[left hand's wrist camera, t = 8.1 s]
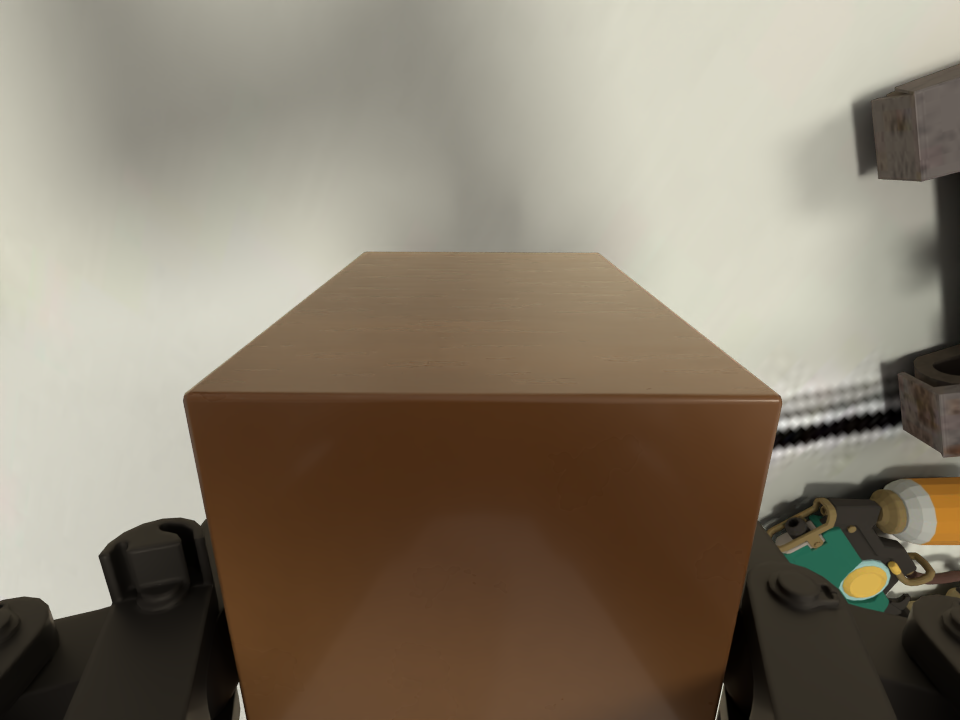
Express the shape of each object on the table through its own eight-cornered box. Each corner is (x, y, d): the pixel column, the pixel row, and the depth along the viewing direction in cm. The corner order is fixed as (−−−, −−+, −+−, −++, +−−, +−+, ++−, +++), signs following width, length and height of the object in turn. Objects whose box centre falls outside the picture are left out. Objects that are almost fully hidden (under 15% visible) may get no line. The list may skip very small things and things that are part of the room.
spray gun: (991, 602, 42) (790, 654, 44) (981, 428, 35) (748, 499, 38) (1043, 653, 38) (820, 706, 40) (1043, 467, 31) (778, 544, 34)
